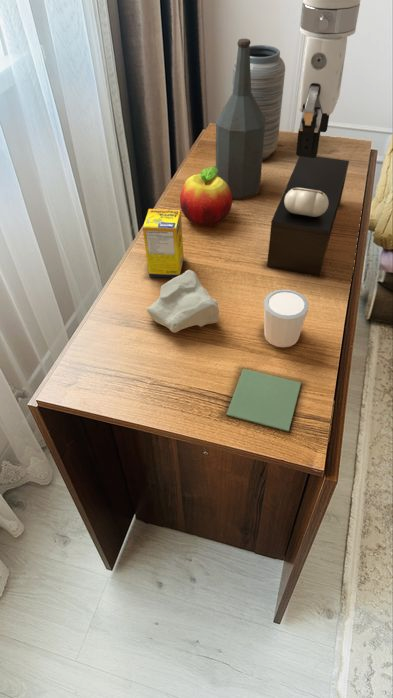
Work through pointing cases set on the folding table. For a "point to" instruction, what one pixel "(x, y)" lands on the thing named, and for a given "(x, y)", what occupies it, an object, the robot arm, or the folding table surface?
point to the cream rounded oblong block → (306, 202)
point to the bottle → (240, 133)
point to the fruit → (206, 198)
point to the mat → (264, 399)
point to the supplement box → (163, 242)
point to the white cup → (284, 317)
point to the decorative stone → (184, 304)
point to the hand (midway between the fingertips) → (311, 143)
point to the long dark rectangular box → (307, 217)
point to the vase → (267, 90)
